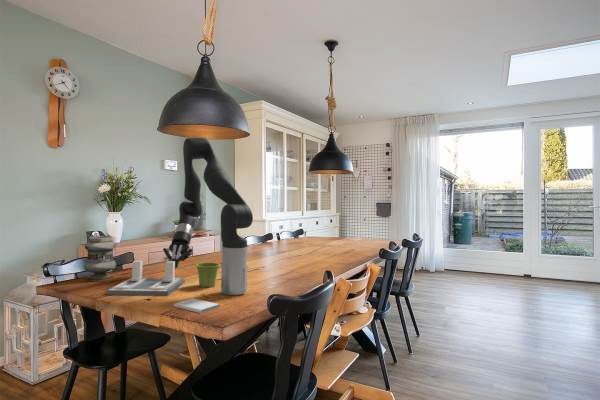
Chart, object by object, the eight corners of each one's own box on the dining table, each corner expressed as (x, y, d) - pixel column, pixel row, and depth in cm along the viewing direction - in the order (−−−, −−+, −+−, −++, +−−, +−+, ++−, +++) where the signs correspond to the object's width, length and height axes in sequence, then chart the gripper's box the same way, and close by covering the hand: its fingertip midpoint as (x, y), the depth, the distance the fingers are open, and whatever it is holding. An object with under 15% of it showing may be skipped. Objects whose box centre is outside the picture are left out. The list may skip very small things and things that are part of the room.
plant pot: (224, 285, 147) (224, 264, 147) (206, 289, 139) (206, 267, 140) (208, 282, 153) (209, 261, 153) (190, 286, 145) (190, 264, 145)
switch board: (184, 282, 151) (185, 277, 151) (168, 295, 130) (168, 289, 130) (131, 281, 150) (131, 276, 150) (105, 294, 129) (106, 288, 129)
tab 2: (175, 279, 147) (175, 261, 147) (172, 281, 143) (172, 262, 143) (167, 279, 147) (167, 260, 147) (164, 281, 143) (164, 262, 143)
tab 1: (143, 279, 147) (143, 260, 147) (139, 281, 143) (139, 262, 143) (135, 279, 147) (135, 260, 147) (130, 281, 143) (131, 261, 143)
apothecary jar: (76, 280, 151) (78, 236, 151) (100, 274, 162) (102, 234, 162) (99, 282, 147) (100, 238, 147) (122, 277, 158) (123, 236, 159)
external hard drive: (200, 315, 110) (174, 308, 117) (220, 308, 117) (193, 302, 124) (200, 309, 110) (174, 303, 117) (220, 303, 117) (194, 297, 124)
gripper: (165, 229, 158) (154, 262, 146) (196, 230, 159) (187, 263, 146) (169, 240, 164) (159, 273, 151) (199, 241, 164) (190, 273, 152)
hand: (173, 268), depth 149 cm, fingers closed
